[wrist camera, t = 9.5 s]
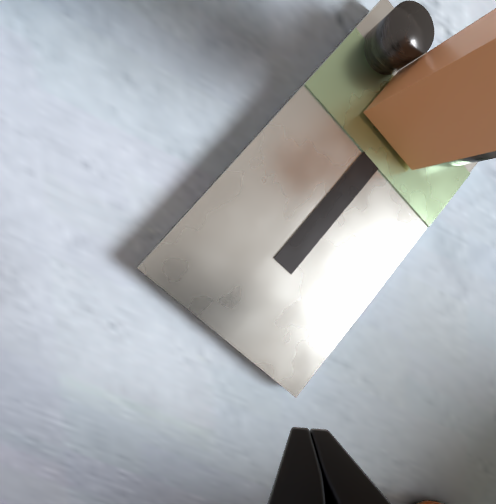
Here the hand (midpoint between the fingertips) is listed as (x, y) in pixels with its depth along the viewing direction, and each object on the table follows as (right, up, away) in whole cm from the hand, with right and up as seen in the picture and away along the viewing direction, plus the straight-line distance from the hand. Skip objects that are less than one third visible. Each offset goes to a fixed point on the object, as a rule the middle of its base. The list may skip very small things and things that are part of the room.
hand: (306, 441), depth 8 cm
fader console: (+3, +7, +11) cm, 13 cm away
